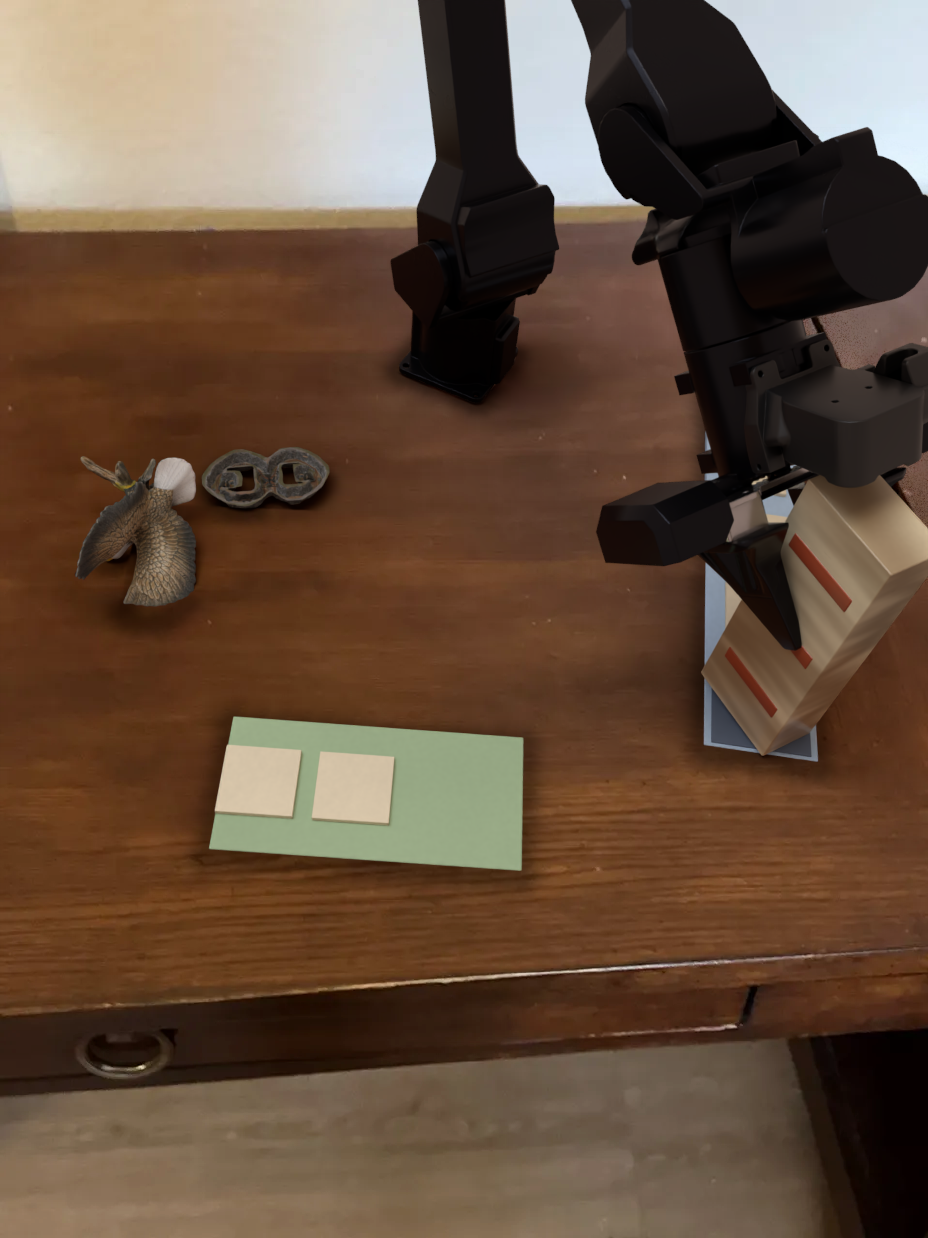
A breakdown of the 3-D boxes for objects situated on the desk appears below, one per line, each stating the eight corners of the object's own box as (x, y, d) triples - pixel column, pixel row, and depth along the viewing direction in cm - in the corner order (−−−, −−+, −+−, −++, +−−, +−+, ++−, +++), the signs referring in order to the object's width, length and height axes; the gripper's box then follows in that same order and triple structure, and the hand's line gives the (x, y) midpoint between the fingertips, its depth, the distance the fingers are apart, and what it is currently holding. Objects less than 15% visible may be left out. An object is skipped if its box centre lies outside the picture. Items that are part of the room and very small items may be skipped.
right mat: (815, 766, 68) (820, 758, 67) (701, 750, 68) (705, 741, 67) (791, 339, 90) (794, 330, 90) (706, 327, 90) (708, 317, 90)
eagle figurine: (53, 505, 74) (48, 602, 67) (102, 415, 70) (102, 508, 64) (169, 547, 78) (175, 642, 71) (221, 464, 74) (232, 556, 68)
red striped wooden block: (761, 757, 67) (890, 575, 53) (699, 673, 70) (807, 479, 56) (810, 733, 68) (949, 549, 54) (748, 651, 71) (865, 456, 57)
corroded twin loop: (333, 509, 77) (333, 498, 76) (205, 519, 75) (203, 508, 74) (325, 452, 80) (325, 441, 79) (201, 462, 78) (199, 450, 77)
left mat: (209, 854, 62) (208, 846, 61) (234, 721, 67) (232, 713, 66) (520, 875, 63) (522, 868, 62) (522, 742, 67) (524, 734, 67)
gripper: (685, 374, 47) (786, 735, 51) (1015, 248, 54) (1085, 574, 58) (549, 399, 58) (641, 699, 61) (841, 291, 64) (910, 566, 68)
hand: (822, 634), depth 62 cm, fingers closed on red striped wooden block, 4 cm apart
